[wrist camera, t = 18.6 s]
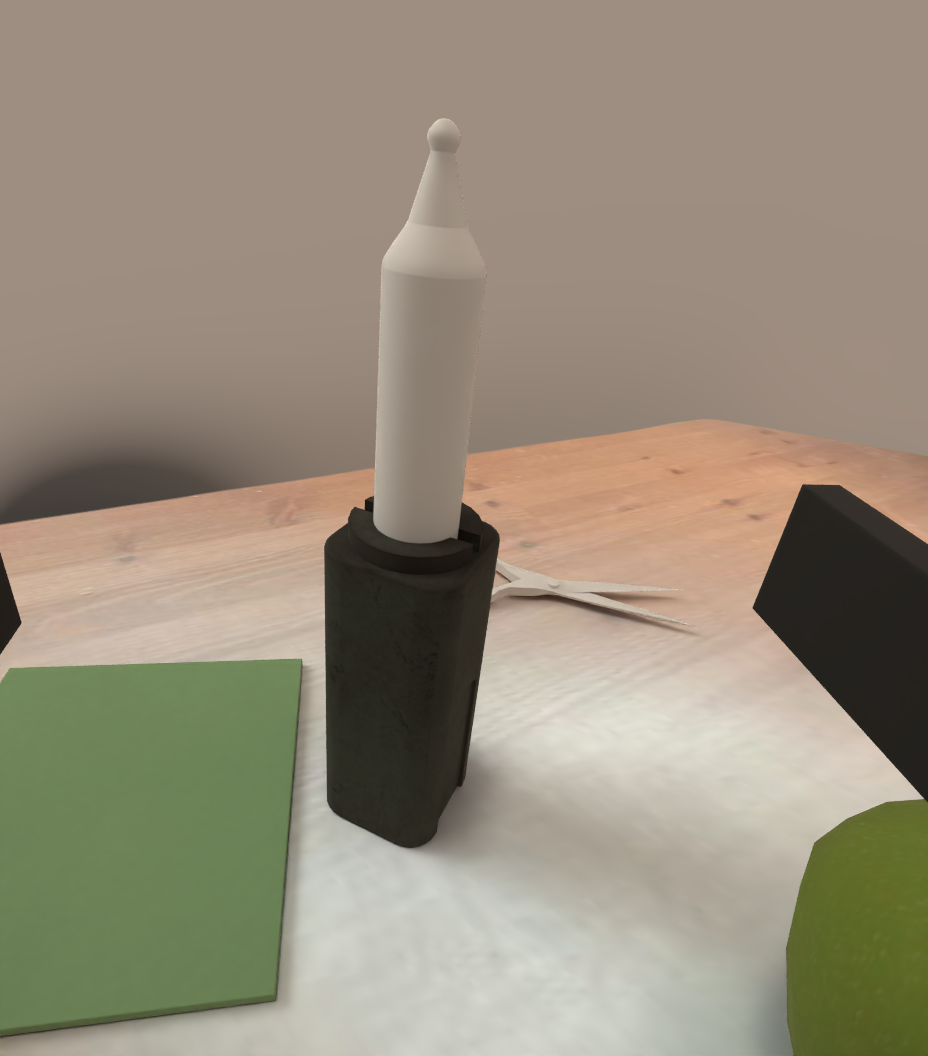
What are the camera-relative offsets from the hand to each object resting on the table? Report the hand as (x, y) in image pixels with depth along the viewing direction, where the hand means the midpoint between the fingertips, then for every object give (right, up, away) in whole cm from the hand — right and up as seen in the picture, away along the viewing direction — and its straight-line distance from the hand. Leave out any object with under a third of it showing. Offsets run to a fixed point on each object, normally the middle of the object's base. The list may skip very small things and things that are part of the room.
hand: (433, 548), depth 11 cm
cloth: (-14, -11, +15) cm, 23 cm away
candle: (-2, -11, +18) cm, 21 cm away
